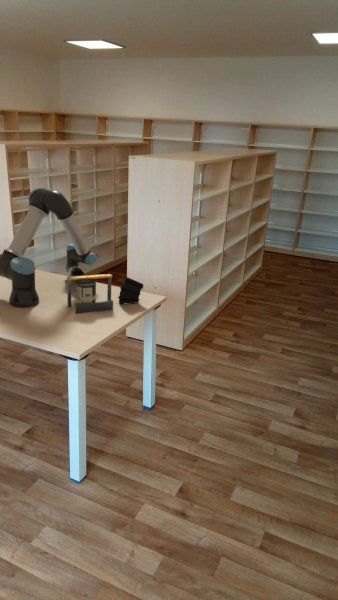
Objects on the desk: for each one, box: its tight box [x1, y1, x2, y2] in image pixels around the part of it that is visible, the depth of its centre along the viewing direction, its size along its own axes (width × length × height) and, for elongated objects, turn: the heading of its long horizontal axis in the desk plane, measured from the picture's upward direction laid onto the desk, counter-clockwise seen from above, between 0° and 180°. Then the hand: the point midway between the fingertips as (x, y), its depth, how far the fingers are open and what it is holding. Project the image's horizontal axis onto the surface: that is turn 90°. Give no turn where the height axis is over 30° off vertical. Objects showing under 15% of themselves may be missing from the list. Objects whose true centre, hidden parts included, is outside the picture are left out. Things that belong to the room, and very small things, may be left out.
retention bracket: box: [66, 273, 114, 315], centre depth 229 cm, size 24×11×16 cm, turn 116°
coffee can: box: [75, 279, 97, 303], centre depth 229 cm, size 10×10×14 cm
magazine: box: [117, 276, 144, 305], centre depth 242 cm, size 4×13×15 cm, turn 114°
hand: (86, 286), depth 243 cm, fingers closed
